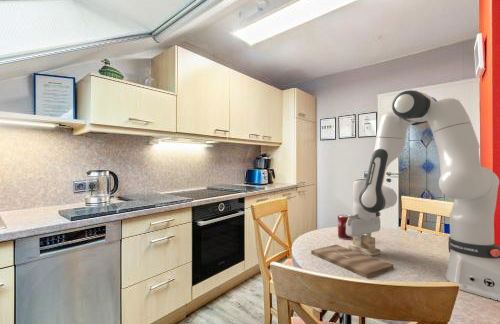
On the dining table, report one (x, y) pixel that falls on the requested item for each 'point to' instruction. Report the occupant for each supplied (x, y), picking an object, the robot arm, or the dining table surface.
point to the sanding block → (365, 246)
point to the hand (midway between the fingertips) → (363, 243)
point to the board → (353, 260)
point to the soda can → (342, 227)
